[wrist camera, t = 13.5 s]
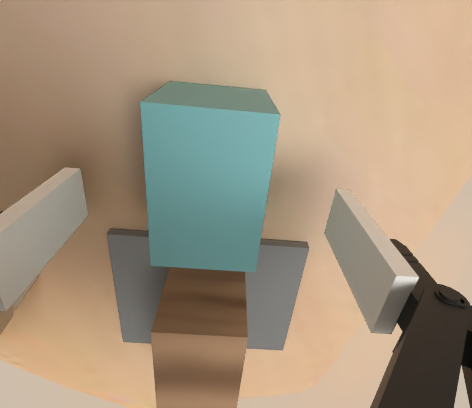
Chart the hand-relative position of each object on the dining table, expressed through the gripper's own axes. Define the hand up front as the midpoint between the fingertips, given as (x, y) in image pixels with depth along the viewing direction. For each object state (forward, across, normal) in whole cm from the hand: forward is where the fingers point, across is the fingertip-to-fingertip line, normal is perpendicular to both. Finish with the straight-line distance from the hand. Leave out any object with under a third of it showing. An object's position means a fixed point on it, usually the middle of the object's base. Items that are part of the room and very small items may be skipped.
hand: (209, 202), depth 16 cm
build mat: (+7, 0, -13) cm, 15 cm away
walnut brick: (+6, 0, -13) cm, 14 cm away
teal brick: (+6, 0, 0) cm, 6 cm away
